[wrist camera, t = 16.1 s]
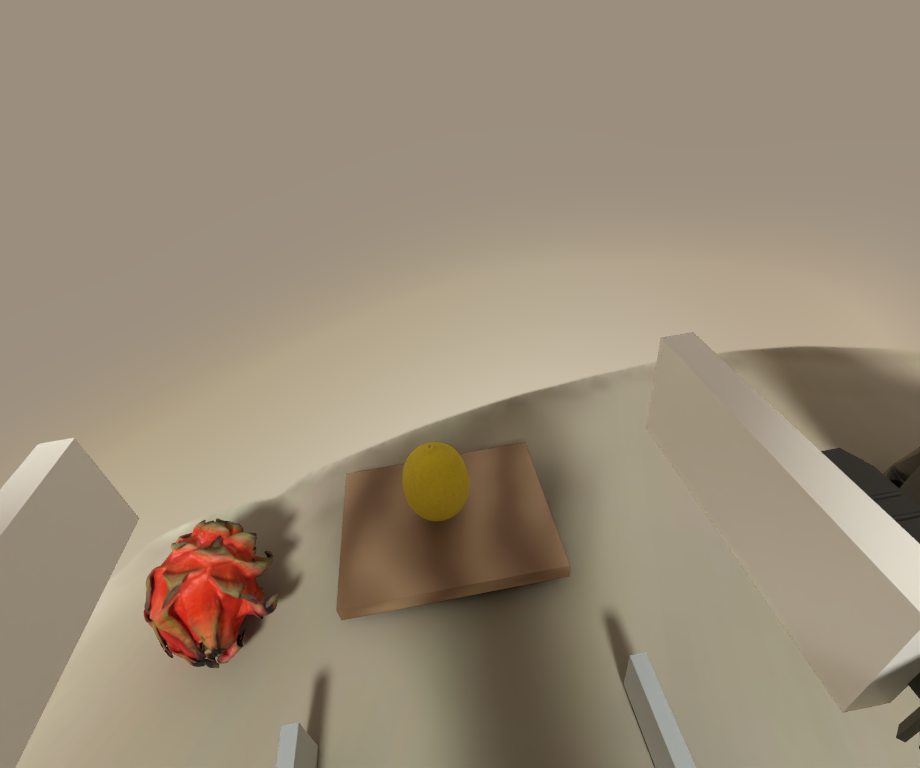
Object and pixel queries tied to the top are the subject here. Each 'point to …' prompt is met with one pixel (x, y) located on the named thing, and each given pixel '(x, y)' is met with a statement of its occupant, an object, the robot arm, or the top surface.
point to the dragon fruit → (207, 593)
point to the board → (446, 537)
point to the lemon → (435, 481)
